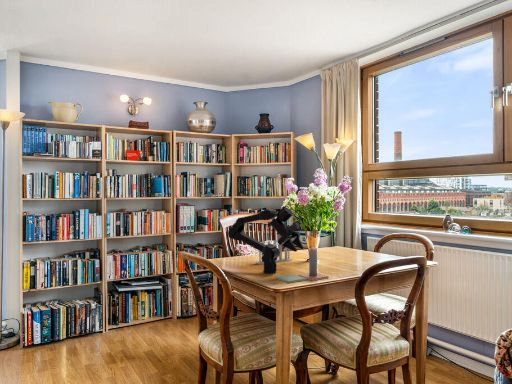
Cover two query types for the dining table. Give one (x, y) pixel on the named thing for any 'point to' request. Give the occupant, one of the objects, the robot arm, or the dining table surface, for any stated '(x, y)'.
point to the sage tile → (291, 278)
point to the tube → (312, 262)
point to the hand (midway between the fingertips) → (299, 250)
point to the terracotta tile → (312, 278)
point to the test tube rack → (279, 255)
